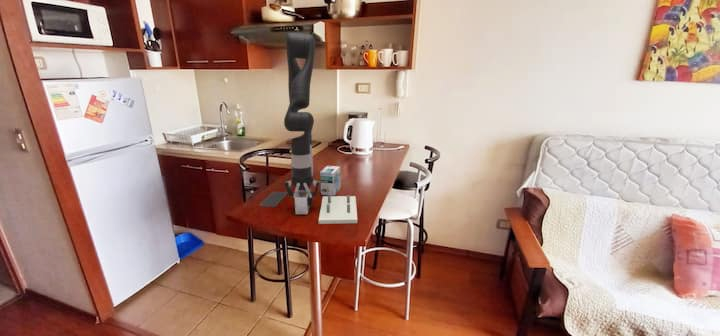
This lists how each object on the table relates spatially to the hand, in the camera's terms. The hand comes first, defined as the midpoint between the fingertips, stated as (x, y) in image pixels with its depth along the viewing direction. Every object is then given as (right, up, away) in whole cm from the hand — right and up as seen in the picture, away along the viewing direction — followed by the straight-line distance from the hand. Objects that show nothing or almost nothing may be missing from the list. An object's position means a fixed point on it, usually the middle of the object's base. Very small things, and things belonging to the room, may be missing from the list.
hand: (303, 205), depth 121 cm
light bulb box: (+9, +4, +19) cm, 22 cm away
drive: (0, -1, 0) cm, 1 cm away
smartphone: (-14, +1, +9) cm, 17 cm away
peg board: (+14, -2, -1) cm, 14 cm away
